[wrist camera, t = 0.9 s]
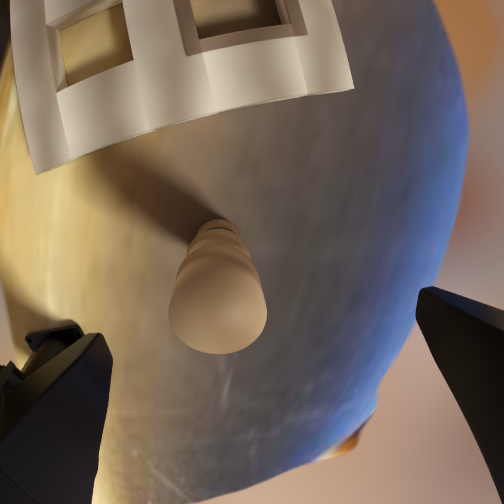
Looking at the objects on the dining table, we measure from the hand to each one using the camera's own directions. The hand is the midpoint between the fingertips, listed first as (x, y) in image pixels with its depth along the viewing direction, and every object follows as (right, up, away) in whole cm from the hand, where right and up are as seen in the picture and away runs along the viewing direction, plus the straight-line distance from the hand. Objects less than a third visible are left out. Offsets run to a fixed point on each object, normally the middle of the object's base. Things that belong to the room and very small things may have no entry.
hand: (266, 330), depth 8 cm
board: (-6, +16, +7) cm, 19 cm away
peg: (-3, +3, +13) cm, 14 cm away
